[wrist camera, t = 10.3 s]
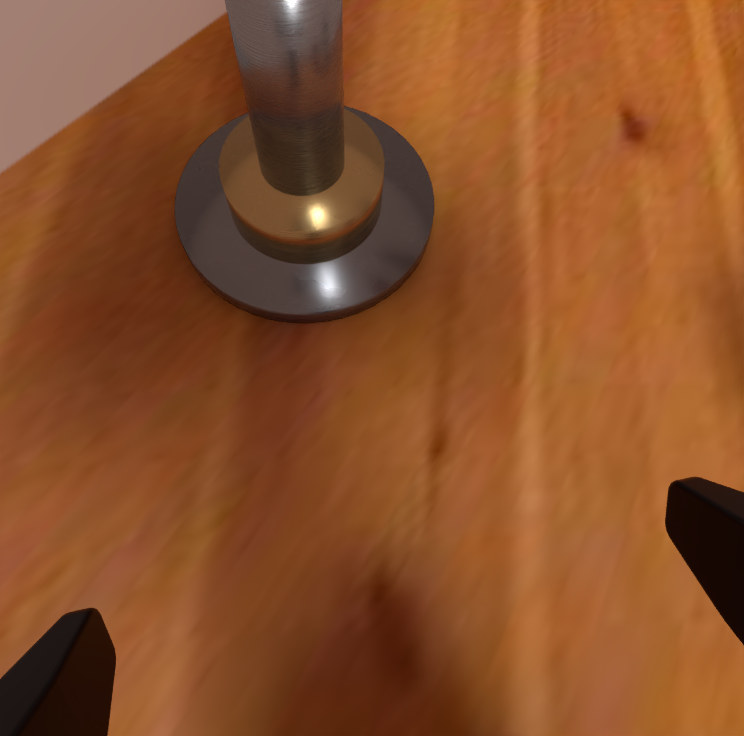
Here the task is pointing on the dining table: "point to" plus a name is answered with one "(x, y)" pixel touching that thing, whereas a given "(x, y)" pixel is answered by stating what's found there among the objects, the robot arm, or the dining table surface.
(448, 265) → the dining table surface
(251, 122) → the grey and gold stamper
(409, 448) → the dining table surface
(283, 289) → the plate
